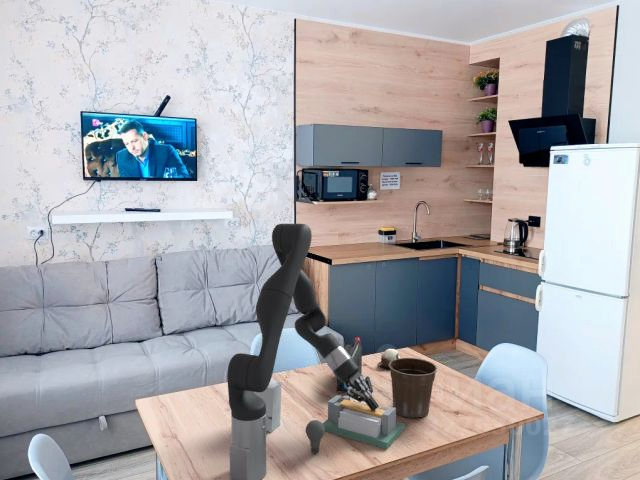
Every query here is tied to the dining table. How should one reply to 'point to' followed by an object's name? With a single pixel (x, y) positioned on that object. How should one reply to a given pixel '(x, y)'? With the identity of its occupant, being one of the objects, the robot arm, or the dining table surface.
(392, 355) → the skull
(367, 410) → the retention strap
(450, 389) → the dining table surface
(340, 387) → the game console
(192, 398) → the dining table surface
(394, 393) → the plant pot
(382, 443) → the base
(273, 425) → the skincare box
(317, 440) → the light bulb
